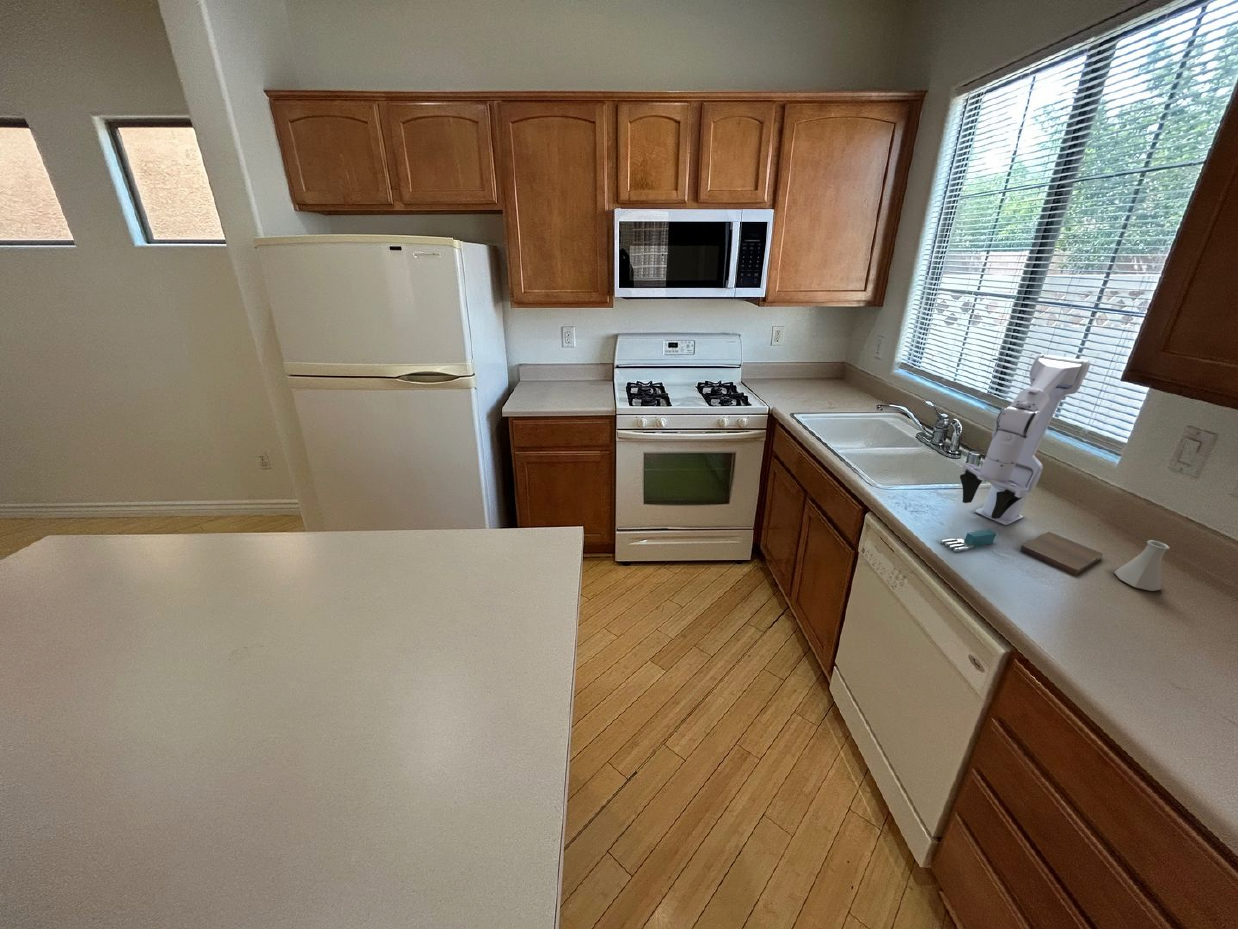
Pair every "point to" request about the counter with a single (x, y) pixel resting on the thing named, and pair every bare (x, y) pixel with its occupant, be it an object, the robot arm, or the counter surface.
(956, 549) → the fork
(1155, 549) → the flask
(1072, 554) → the cutting board
